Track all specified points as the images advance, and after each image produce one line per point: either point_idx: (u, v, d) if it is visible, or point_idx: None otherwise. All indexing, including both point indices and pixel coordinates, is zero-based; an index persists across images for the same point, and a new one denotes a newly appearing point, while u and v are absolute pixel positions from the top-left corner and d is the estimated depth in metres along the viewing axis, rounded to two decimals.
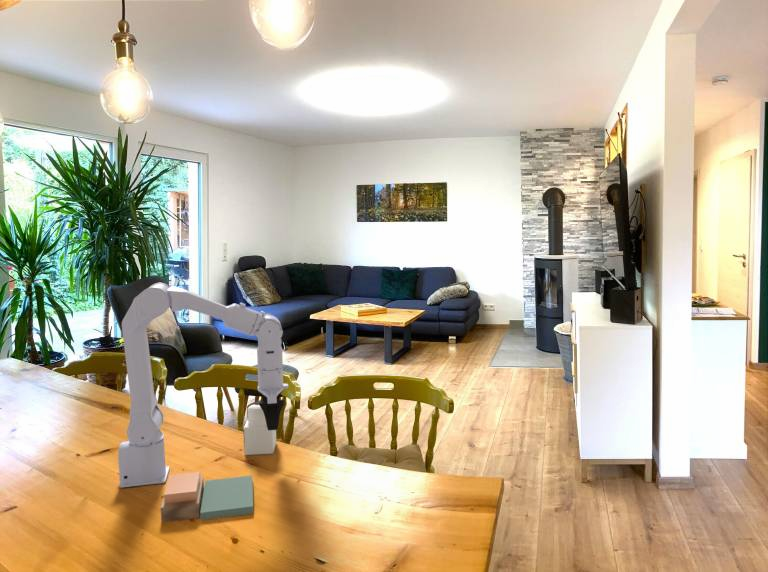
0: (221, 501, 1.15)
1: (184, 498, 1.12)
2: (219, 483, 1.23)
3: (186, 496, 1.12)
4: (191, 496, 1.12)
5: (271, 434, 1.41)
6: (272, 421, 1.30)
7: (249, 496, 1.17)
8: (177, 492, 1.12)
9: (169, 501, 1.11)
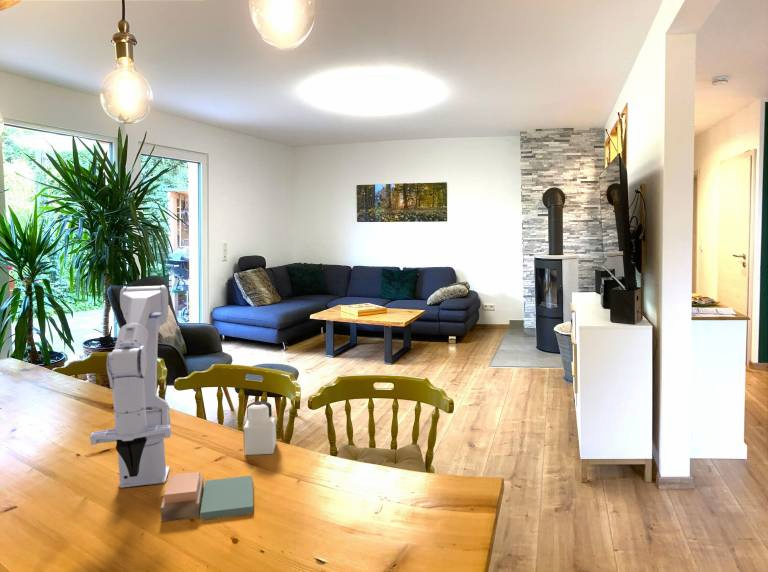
0: (221, 501, 1.15)
1: (184, 498, 1.12)
2: (219, 483, 1.23)
3: (186, 496, 1.12)
4: (191, 496, 1.12)
5: (271, 434, 1.41)
6: None
7: (249, 496, 1.17)
8: (177, 492, 1.12)
9: (169, 501, 1.11)
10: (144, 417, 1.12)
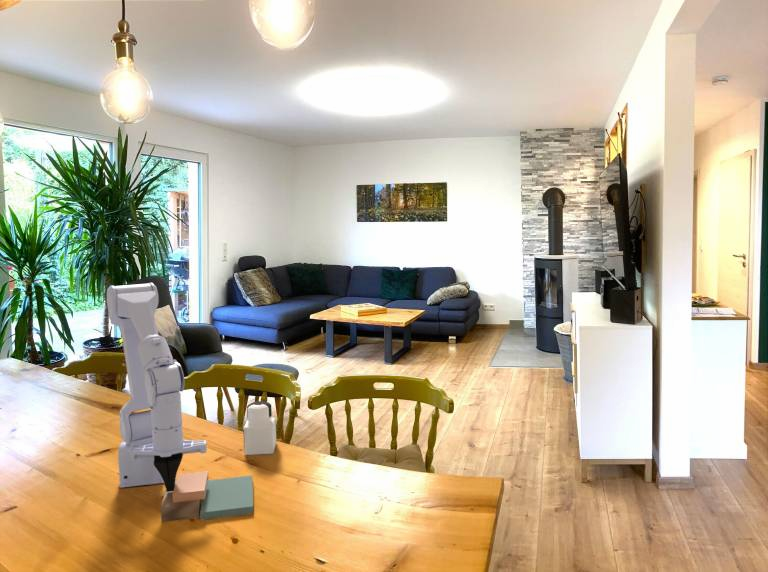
0: (221, 501, 1.15)
1: (192, 497, 1.12)
2: (219, 483, 1.23)
3: (194, 495, 1.12)
4: (199, 495, 1.13)
5: (271, 434, 1.41)
6: None
7: (249, 496, 1.17)
8: (185, 491, 1.12)
9: (178, 500, 1.12)
10: (181, 433, 1.14)
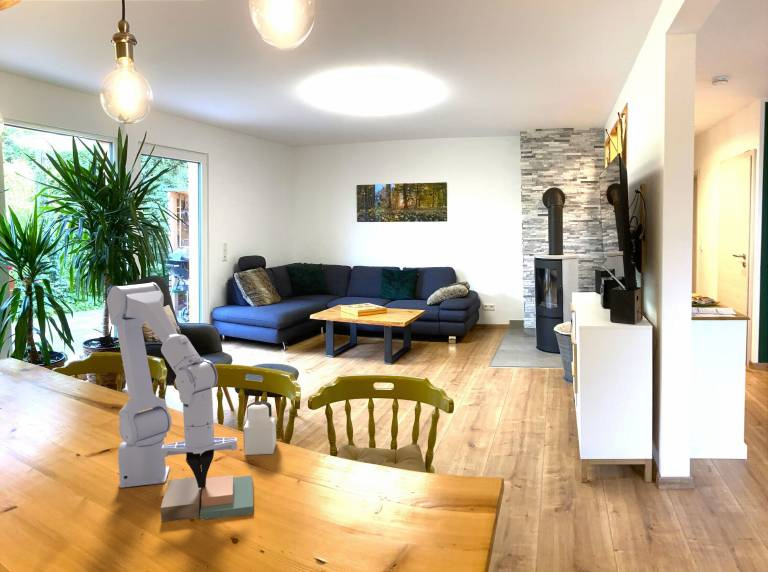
0: None
1: (221, 501, 1.14)
2: None
3: (223, 499, 1.14)
4: (227, 499, 1.14)
5: (271, 434, 1.41)
6: None
7: (249, 496, 1.17)
8: (214, 495, 1.14)
9: (206, 504, 1.13)
10: (212, 430, 1.15)
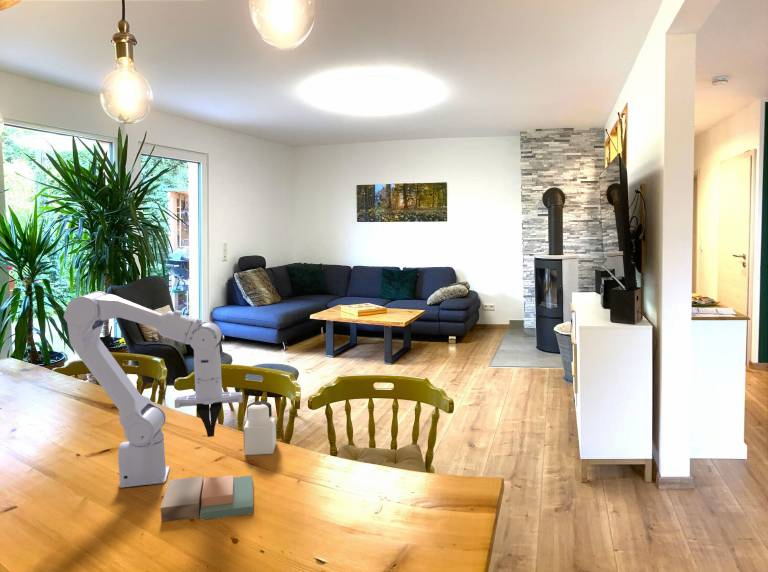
0: None
1: (221, 501, 1.14)
2: None
3: (223, 499, 1.14)
4: (227, 499, 1.14)
5: (271, 434, 1.41)
6: None
7: (249, 496, 1.17)
8: (214, 495, 1.14)
9: (206, 504, 1.13)
10: (220, 384, 1.28)
